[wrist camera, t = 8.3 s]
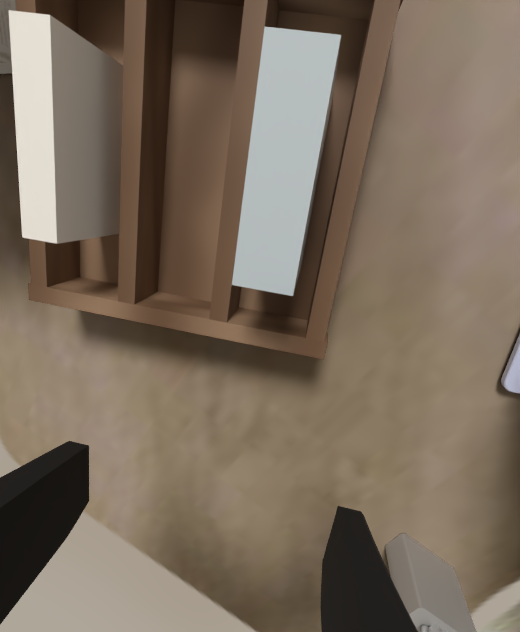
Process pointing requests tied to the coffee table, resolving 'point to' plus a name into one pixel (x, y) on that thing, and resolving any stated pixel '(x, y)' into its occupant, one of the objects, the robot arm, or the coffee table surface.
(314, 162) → the pale blue rectangular prism
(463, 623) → the lighter
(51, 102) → the tile
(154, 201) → the rack
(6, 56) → the skincare box
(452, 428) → the coffee table surface
